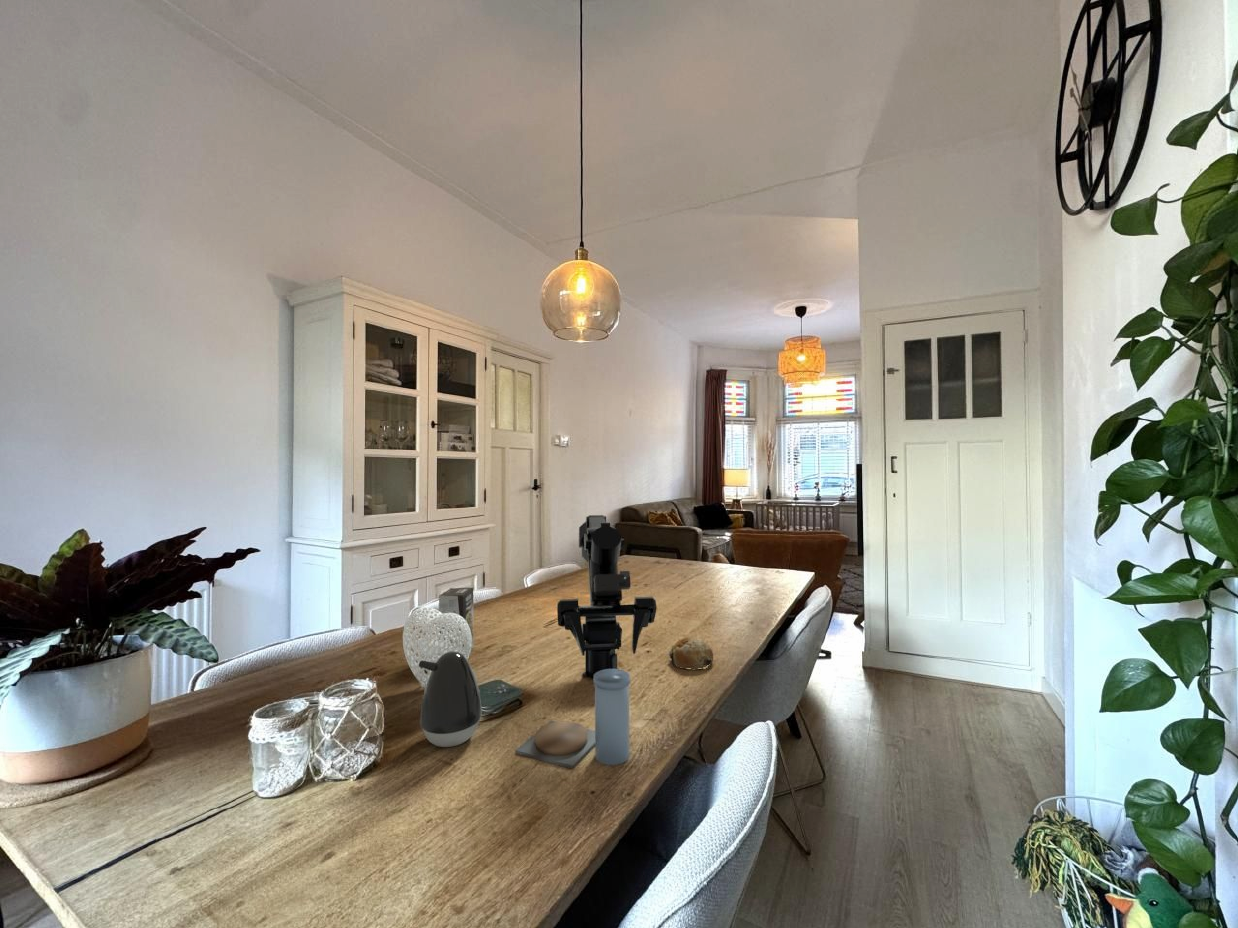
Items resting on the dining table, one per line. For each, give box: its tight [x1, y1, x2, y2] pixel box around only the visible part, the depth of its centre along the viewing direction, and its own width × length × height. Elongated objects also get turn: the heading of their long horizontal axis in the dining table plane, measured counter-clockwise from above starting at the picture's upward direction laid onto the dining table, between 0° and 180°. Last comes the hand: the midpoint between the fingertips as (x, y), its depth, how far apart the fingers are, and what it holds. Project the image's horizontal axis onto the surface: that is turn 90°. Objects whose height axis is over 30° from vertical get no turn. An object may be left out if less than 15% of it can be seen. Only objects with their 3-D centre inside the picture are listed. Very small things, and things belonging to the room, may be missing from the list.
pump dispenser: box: [419, 651, 483, 748], centre depth 89 cm, size 10×10×15 cm
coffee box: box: [438, 587, 475, 651], centre depth 132 cm, size 9×6×16 cm
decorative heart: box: [402, 607, 472, 689], centre depth 109 cm, size 18×11×17 cm, turn 56°
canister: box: [593, 668, 631, 766], centre depth 84 cm, size 6×6×13 cm
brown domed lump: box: [668, 636, 714, 669], centre depth 124 cm, size 10×10×8 cm
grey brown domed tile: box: [515, 720, 595, 770], centre depth 87 cm, size 11×11×2 cm
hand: (609, 653), depth 92 cm, fingers open, 9 cm apart
